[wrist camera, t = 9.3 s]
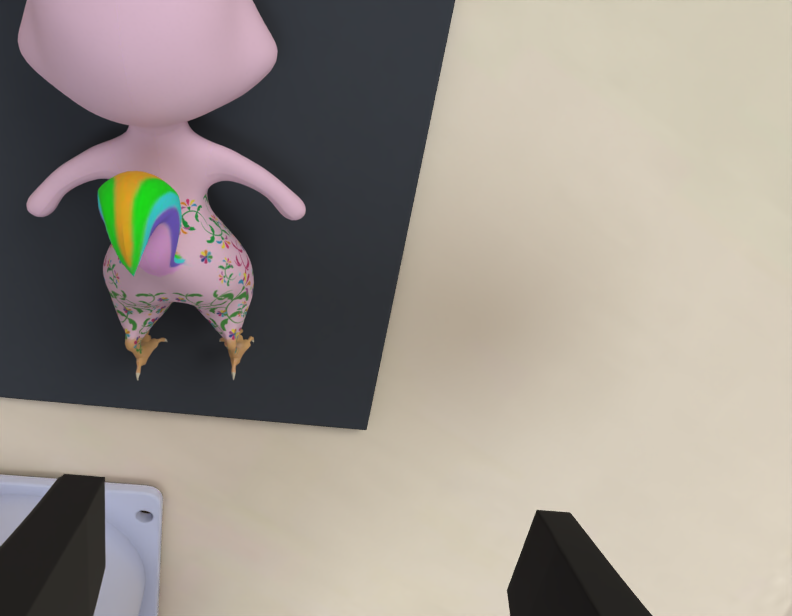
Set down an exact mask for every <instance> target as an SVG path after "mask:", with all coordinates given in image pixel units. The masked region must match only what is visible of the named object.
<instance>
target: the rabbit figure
mask: <svg viewBox="0 0 792 616" xmlns="http://www.w3.org/2000/svg"><path fill="white" fill-rule="evenodd" d="M18 44H19V49H20V52H21V54H22V55H23V57H24V58H25V60H26V61H27V63H28V64H29V65H30V66H31V67H32V68H33V69H34V70H35V71H36V72H37V73H38V74H39V75H41V76H42V77H43V78H44V79H45V80H47V81H48V82H49V83H50V84H52V85H53V86H54V87H55V88H57V89H58V90H59V91H61V92H62V93H63V94H64V95H66V96H67V97H69V98H70V99H71V100H73V101H74V102H76V103H77V104H78V105H80V106H82V107H83V108H85V109H86V110H88V111H90V112H92V113H94V114H96V115H98V116H100V117H103V118H105V119H108V120H111V121H114V122H117V123H121V124H125V125H129V127H128V129H127V131H126V132H125V133H123V134H122V135H120V136H118V137H116V138H114V139H111V140H109V141H106V142H103V143H100V144H98V145H95V146H93V147H91V148H89V149H87V150H86V151H84V152H82V153H81V154H79V155H77V156H75V157H74V158H72V159H70V160H69V161H67V162H66V163H64V164H63V165H61V166H60V167H58V168H57V169H56V170H55V171H54V172H53V173H51V174H50V175H49V176H48V177H47V178H46V179H45V180H44V181H43V183H42V184H41V185H40V186H39V187H38V188H37V189H36V190H35V191H34V192H33V193H32V194H31V195H30V197H29V198H28V201H27V204H26V205H27V210H28V211H29V212H30V213H31V214H32V215H34V216H37V217H45V216H48V215H49V214H51V213H52V212H53V211H54V210H55V209H56V207H57V206H58V204H59V202H60V201H61V199H62V198H63V196H64V195H65V194H66V193H67V192H69V191H70V190H71V189H73V188H75V187H77V186H79V185H81V184H83V183H86V182H89V181H92V180H96V179H109V180H108V181H106V182H105V183H104V184H103V185H102V186H101V187H100V188H99V189H98V208H99V212H100V215H101V218H102V220H103V222H104V223H105V227H106V230H107V233H108V236H109V239H110V241H111V245H110V247H109V249H108V251H107V253H106V256H105V259H104V264H103V275H104V280H105V283H106V285H107V287H108V290H109V293H110V296H111V299H112V301H113V304H114V307H115V310H116V312H117V315H118V317H119V320H120V322H121V325H122V327H123V329H124V330H125V345H126V348H127V349H128V350H129V351H131V352H133V354H134V355H135V357H136V360H137V361H136V364H137V370H136V377H137V380H138V378H139V375H140V372H141V366H143V365H145V364H146V362H147V359H148V357H149V356H150V355H151V353H152V352H153V350H154V349H155V348H156V347H157V346H158V343H159V342H167V339H165V338H159V339H155V338H153V339H151V336H150V335H148V333H149V330H150V328H151V327H152V326H153V325H154V323H155V322H156V321H157V320H158V319H159V318H160V317H161V316H162V315H163V314H164V313H165V311H166V310H167V309H168V308H169V307H170V305H171V304H172V303H173V302H181V303H187V304H190V305H193V306H195V307H196V308H197V309H198V310H199V311H200V312H201V313H202V315H203V316H204V317H205V318H206V319H207V320H208V321H209V322H210V323H211V324H212V326H213V327H214V328H215V329H216V330H217V331H218V333H219V334H220V335H221V336H222V337H223V338H220V342H222V341H223V342H225V343H224V344H225V346H226V347H227V349H228V352H229V356H230V359H231V364H232V371H231V373H232V376H233V380H234V378H235V374H236V365H238V364H239V363H240V359H241V357H242V355H243V354H244V353H245V351H246V350H247V349H248V348H249V347H250V346H251V344H250V342H251V340H252V341H253V342H254V337H252V336H250V337H249V339H248V340H247V339H245V340H243V337H242V335H240V334H241V333H242V332H243V330H242V329H241V328H242V325H243V322H244V319H245V317H246V314H247V311H248V308H249V305H250V302H251V299H252V295H253V288H254V276H253V269H252V265H251V262H250V259H249V257H248V255H247V253H246V251H245V249H244V248H243V246H242V245H241V243H240V242H239V241H238V240H237V239H236V237H235V236H234V235H233V234H232V233H231V232H230V230H229V229H228V228H227V227H226V226H225V225H224V224H223V223H222V221H221V220H220V219H219V218H218V217H217V216H216V215H215V213H214V212H213V211H212V209H211V207H210V205H209V202H208V197H207V192H208V188H209V187H210V186H211V185H212V184H214V183H216V182H220V181H232V182H236V183H240V184H243V185H245V186H248V187H250V188H252V189H254V190H256V191H258V192H260V193H261V194H262V195H264V196H265V197H267V198H268V199H269V200H270V201H271V202H272V204H273V205H274V206H275V207H276V209H277V210H278V211H279V212H280V213H281V214H282V215H283V216H284V217H285V218H287V219H290V220H298V219H301V218H302V217H303V216H304V215H305V211H306V208H305V205H304V203H303V201H302V200H301V199H300V198H299V197H298V196H297V195H296V194H295V193H294V192H292V191H291V190H290V189H289V188H288V187H287V186H286V185H284V184H283V183H282V182H281V181H280V180H279V179H277V178H276V177H275V176H274V175H272V174H271V173H270V172H268V171H267V170H266V169H264V168H263V167H261V166H260V165H258V164H256V163H254V162H253V161H251V160H249V159H248V158H246V157H244V156H242V155H240V154H239V153H237V152H235V151H233V150H231V149H229V148H226V147H224V146H222V145H219V144H216V143H214V142H211V141H209V140H207V139H205V138H203V137H201V136H199V135H198V134H196V133H195V132H194V131H193V130H192V129H191V128H190V126H189V124H188V122H187V121H190V120H192V119H195V118H198V117H200V116H202V115H205V114H207V113H209V112H211V111H213V110H215V109H217V108H219V107H221V106H223V105H225V104H227V103H229V102H231V101H233V100H235V99H237V98H239V97H240V96H242V95H243V94H245V93H246V92H248V91H249V90H250V89H252V88H253V87H254V86H255V85H257V84H258V83H259V82H260V81H261V80H262V79H263V78H264V77H265V76H266V75H267V74H268V73H269V72H270V71H271V70H272V68H273V66H274V64H275V63H276V60H277V52H278V50H277V46H276V43H275V41H274V39H273V37H272V35H271V33H270V32H269V30H268V28H267V26H266V25H265V23H264V21H263V20H262V18H261V16H260V14H259V12H258V10H257V8H256V6H255V4H254V2H253V0H27V1H26V5H25V9H24V13H23V17H22V21H21V25H20V29H19V33H18Z"/></svg>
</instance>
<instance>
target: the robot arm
mask: <svg viewBox="0 0 792 616" xmlns="http://www.w3.org/2000/svg"><path fill="white" fill-rule="evenodd" d="M144 510H145V511H149V512H150V513H143V512H141V511H144ZM162 511H163V496H162V493H161V492H160V491H159V490H158V489H156V488H155V487H152V486H148V485H135V484H122V483H109V482H105V477H95V476H82V475H69V474H64V475H63V476H61V477H60V478H58V479H55V478H42V477H29V476H15V475H2V474H0V616H158V609H159V585H160V560H161V535H162ZM507 593H508V601H509V609H510V616H652V615H651V614H650V612H649V611H648V610H647V609H646V608H645V606H644V605H643V604H642V603H641V602H640V600H639V599H638V598H637V597H636V595H635V594H634V593H633V592H632V591H631V589H630V588H629V587H628V586H627V584H626V583H625V582H624V581H623V579H622V578H621V577H620V576H619V574H618V573H617V572H616V570H615V569H614V568H613V567H612V565H611V564H610V563H609V562H608V560H607V559H606V558H605V556H604V555H603V554H602V553H601V551H600V550H599V549H598V547H597V546H596V545H595V544H594V542H593V541H592V540H591V538H590V537H589V536H588V535H587V533H586V532H585V531H584V529H583V528H582V527H581V526H580V524H579V523H578V522H577V521H576V519H575V518H574V517H573V516H572V514H571V513H569V512H556V511H543V510H537V511H536V514H535V516H534V519H533V522H532V524H531V527H530V530H529V532H528V535H527V538H526V540H525V543H524V546H523V549H522V551H521V554H520V557H519V559H518V562H517V565H516V567H515V570H514V573H513V575H512V578H511V581H510V583H509V586H508V589H507Z"/></svg>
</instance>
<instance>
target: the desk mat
mask: <svg viewBox="0 0 792 616" xmlns="http://www.w3.org/2000/svg"><path fill="white" fill-rule="evenodd" d="M26 1H27V0H0V397H5V398H16V399H27V400H38V401H50V402H61V403H72V404H83V405H94V406H105V407H116V408H127V409H138V410H149V411H160V412H171V413H182V414H193V415H205V416H216V417H227V418H238V419H249V420H260V421H271V422H282V423H293V424H304V425H315V426H326V427H337V428H348V429H359V430H366V429H367V425H368V420H369V415H370V410H371V405H372V401H373V396H374V391H375V386H376V381H377V376H378V371H379V367H380V362H381V357H382V352H383V347H384V342H385V338H386V333H387V328H388V323H389V318H390V313H391V309H392V304H393V299H394V294H395V289H396V284H397V279H398V275H399V270H400V265H401V260H402V255H403V250H404V246H405V241H406V236H407V231H408V226H409V221H410V217H411V212H412V207H413V202H414V197H415V192H416V187H417V183H418V178H419V173H420V168H421V163H422V158H423V154H424V149H425V144H426V139H427V134H428V129H429V125H430V120H431V115H432V110H433V105H434V100H435V95H436V91H437V86H438V81H439V76H440V71H441V66H442V62H443V57H444V52H445V47H446V42H447V37H448V33H449V28H450V23H451V18H452V13H453V8H454V3H455V0H253V2H254V4H255V6H256V8H257V10H258V12H259V14H260V16H261V18H262V20H263V21H264V23H265V25H266V26H267V28H268V30H269V32H270V33H271V35H272V37H273V39H274V41H275V43H276V46H277V50H278V52H277V60H276V63H275V64H274V66H273V68H272V70H271V71H270V72H269V73H268V74H267V75H266V76H265V77H264V78H263V79H262V80H261V81H260V82H259V83H258V84H257V85H255V86H254V87H253V88H252V89H250V90H249V91H248V92H246V93H245V94H243V95H242V96H240V97H239V98H237V99H235V100H233V101H231V102H229V103H227V104H225V105H223V106H221V107H219V108H217V109H215V110H213V111H211V112H209V113H207V114H205V115H202V116H200V117H198V118H195V119H192V120H190V121H187V122H188V124H189V126H190V128H191V129H192V130H193V131H194V132H195V133H196V134H198V135H199V136H201V137H203V138H205V139H207V140H209V141H211V142H214V143H216V144H219V145H222V146H224V147H226V148H229V149H231V150H233V151H235V152H237V153H239V154H240V155H242V156H244V157H246V158H248V159H249V160H251V161H253V162H254V163H256V164H258V165H260V166H261V167H263V168H264V169H266V170H267V171H268V172H270V173H271V174H272V175H274V176H275V177H276V178H277V179H279V180H280V181H281V182H282V183H283V184H284V185H286V186H287V187H288V188H289V189H290V190H291V191H292V192H294V193H295V194H296V195H297V196H298V197H299V198H300V199H301V200H302V201H303V203H304V205H305V208H306V211H305V215H304V216H303V217H302V218H301V219H298V220H290V219H287V218H285V217H284V216H283V215H282V214H281V213H280V212H279V211H278V210H277V209H276V207H275V206H274V205H273V204H272V202H271V201H270V200H269V199H268V198H267V197H265V196H264V195H262V194H261V193H260V192H258V191H256V190H254V189H252V188H250V187H248V186H245V185H243V184H240V183H236V182H232V181H220V182H216V183H214V184H212V185H211V186H210V187H209V188H208V192H207V197H208V202H209V205H210V207H211V209H212V211H213V212H214V213H215V215H216V216H217V217H218V218H219V219H220V220H221V221H222V223H223V224H224V225H225V226H226V227H227V228H228V229H229V230H230V232H231V233H232V234H233V235H234V236H235V237H236V239H237V240H238V241H239V242H240V243H241V245H242V246H243V248H244V249H245V251H246V253H247V255H248V257H249V259H250V262H251V265H252V269H253V276H254V288H253V295H252V299H251V302H250V305H249V308H248V311H247V314H246V317H245V319H244V322H243V325H242V328H241V329H242V330H243V332H242V333H241V334H240V335H242V337H243V340H245V339H247V340H248V339H249V337H250V336H252V337H254V342H253V341H252V340H251V342H250V344H251V346H250V347H249V348H248V349H247V350H246V351H245V353H244V354H243V355H242V357H241V359H240V363H239V364H238V365H236V374H235V378H234V380H233V376H232V373H231V371H232V364H231V359H230V356H229V352H228V349H227V347H226V346H225V344H224V343H225V342H223V341H222V342H220V338H223V337H222V336H221V335H220V334H219V333H218V331H217V330H216V329H215V328H214V327H213V326H212V324H211V323H210V322H209V321H208V320H207V319H206V318H205V317H204V316H203V315H202V313H201V312H200V311H199V310H198V309H197V308H196V307H195V306H193V305H190V304H187V303H181V302H173V303H172V304H171V305H170V307H169V308H168V309H167V310H166V311H165V313H164V314H163V315H162V316H161V317H160V318H159V319H158V320H157V321H156V322H155V323H154V325H153V326H152V327H151V328H150V330H149V333H148V335H150V336H151V339H153V338H155V339H159V338H165V339H167V342H159V343H158V346H157V347H156V348H155V349H154V350H153V352H152V353H151V355H150V356H149V357H148V359H147V362H146V364H145V365H143V366H141V372H140V375H139V378H138V380H137V377H136V370H137V364H136V361H137V360H136V357H135V355H134V354H133V352H131V351H129V350H128V349H127V348H126V345H125V330H124V329H123V327H122V325H121V322H120V320H119V317H118V315H117V312H116V310H115V307H114V304H113V301H112V299H111V296H110V293H109V290H108V287H107V285H106V283H105V280H104V275H103V264H104V259H105V256H106V253H107V251H108V249H109V247H110V245H111V241H110V239H109V236H108V233H107V230H106V227H105V223H104V222H103V220H102V218H101V215H100V212H99V208H98V189H99V188H100V187H101V186H102V185H103V184H104V183H105V182H106V181H108V180H109V179H96V180H92V181H89V182H86V183H83V184H81V185H79V186H77V187H75V188H73V189H71V190H70V191H69V192H67V193H66V194H65V195H64V196H63V198H62V199H61V201H60V202H59V204H58V206H57V207H56V209H55V210H54V211H53V212H52V213H51V214H49V215H48V216H45V217H37V216H34V215H32V214H31V213H30V212H29V211H28V210H27V205H26V204H27V201H28V198H29V197H30V195H31V194H32V193H33V192H34V191H35V190H36V189H37V188H38V187H39V186H40V185H41V184H42V183H43V181H44V180H45V179H46V178H47V177H48V176H49V175H50V174H51V173H53V172H54V171H55V170H56V169H57V168H58V167H60V166H61V165H63V164H64V163H66V162H67V161H69V160H70V159H72V158H74V157H75V156H77V155H79V154H81V153H82V152H84V151H86V150H87V149H89V148H91V147H93V146H95V145H98V144H100V143H103V142H106V141H109V140H111V139H114V138H116V137H118V136H120V135H122V134H123V133H125V132H126V131H127V129H128V127H129V125H125V124H121V123H117V122H114V121H111V120H108V119H105V118H103V117H100V116H98V115H96V114H94V113H92V112H90V111H88V110H86V109H85V108H83V107H82V106H80V105H78V104H77V103H76V102H74V101H73V100H71V99H70V98H69V97H67V96H66V95H64V94H63V93H62V92H61V91H59V90H58V89H57V88H55V87H54V86H53V85H52V84H50V83H49V82H48V81H47V80H45V79H44V78H43V77H42V76H41V75H39V74H38V73H37V72H36V71H35V70H34V69H33V68H32V67H31V66H30V65H29V64H28V63H27V61H26V60H25V58H24V57H23V55H22V54H21V52H20V49H19V44H18V33H19V29H20V25H21V21H22V17H23V13H24V9H25V5H26Z"/></svg>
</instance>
